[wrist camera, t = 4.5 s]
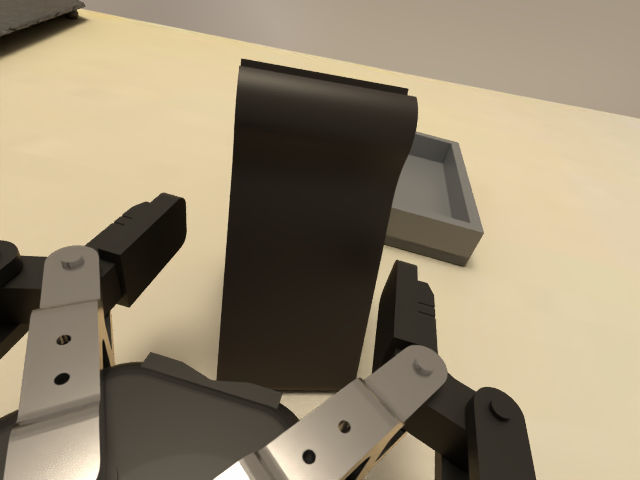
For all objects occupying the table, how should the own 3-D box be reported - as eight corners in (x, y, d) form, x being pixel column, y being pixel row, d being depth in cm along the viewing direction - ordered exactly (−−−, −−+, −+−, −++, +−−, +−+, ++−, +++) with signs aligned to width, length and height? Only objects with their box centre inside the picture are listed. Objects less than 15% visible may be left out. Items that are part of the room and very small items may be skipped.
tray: (279, 214, 27) (285, 178, 25) (323, 136, 40) (329, 108, 38) (464, 266, 26) (483, 232, 24) (446, 169, 39) (458, 142, 38)
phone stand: (351, 394, 17) (464, 148, 10) (214, 393, 16) (225, 110, 8) (328, 261, 24) (383, 61, 17) (232, 253, 23) (247, 34, 15)
